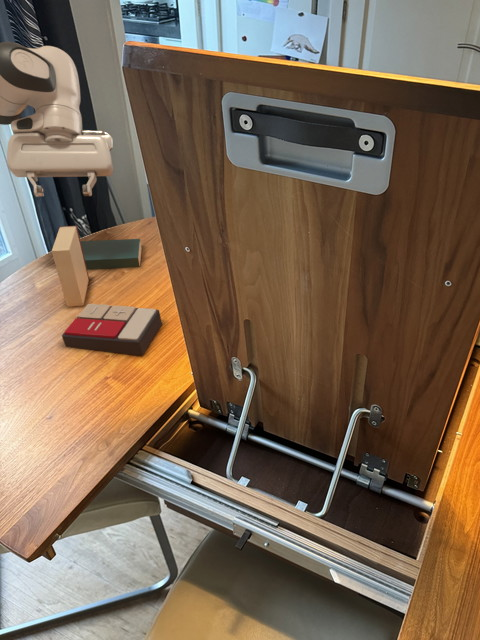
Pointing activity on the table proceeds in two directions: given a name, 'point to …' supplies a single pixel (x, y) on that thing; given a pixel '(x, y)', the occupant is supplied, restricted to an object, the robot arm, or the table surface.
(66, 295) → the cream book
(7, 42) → the robot arm
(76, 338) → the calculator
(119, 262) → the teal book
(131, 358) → the table surface
